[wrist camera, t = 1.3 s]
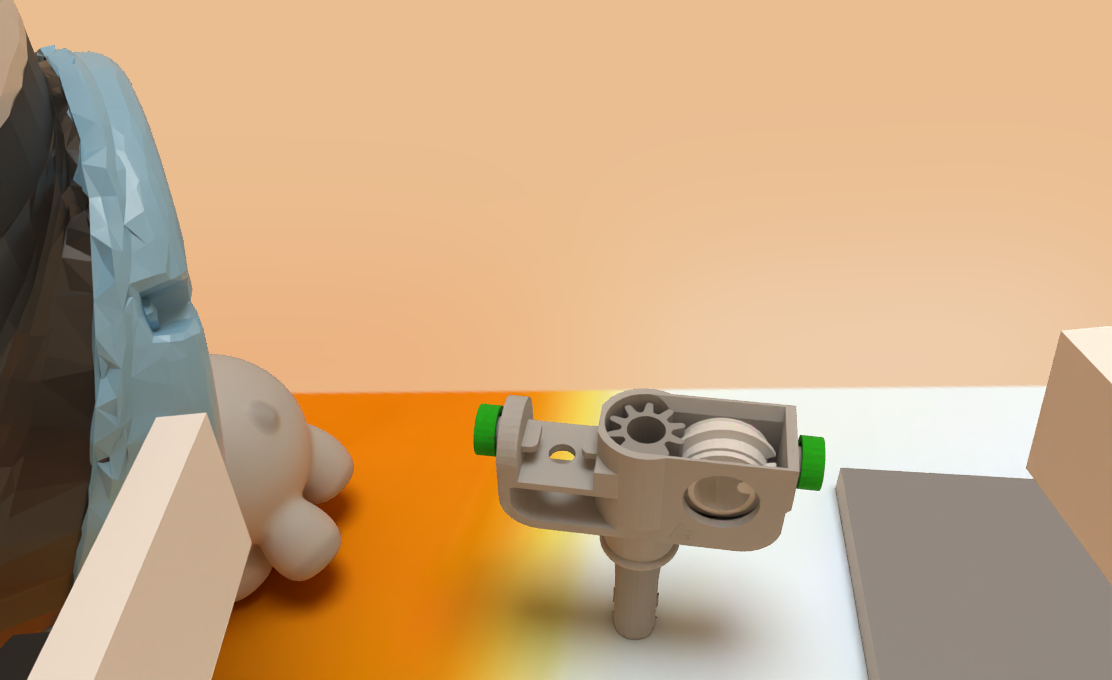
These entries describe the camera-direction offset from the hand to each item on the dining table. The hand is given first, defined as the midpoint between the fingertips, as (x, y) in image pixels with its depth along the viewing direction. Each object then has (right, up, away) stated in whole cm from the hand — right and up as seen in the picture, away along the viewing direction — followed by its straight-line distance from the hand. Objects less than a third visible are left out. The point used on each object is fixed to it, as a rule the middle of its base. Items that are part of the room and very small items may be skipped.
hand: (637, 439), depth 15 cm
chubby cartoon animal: (-15, -7, +22) cm, 28 cm away
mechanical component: (+2, -9, +19) cm, 21 cm away
